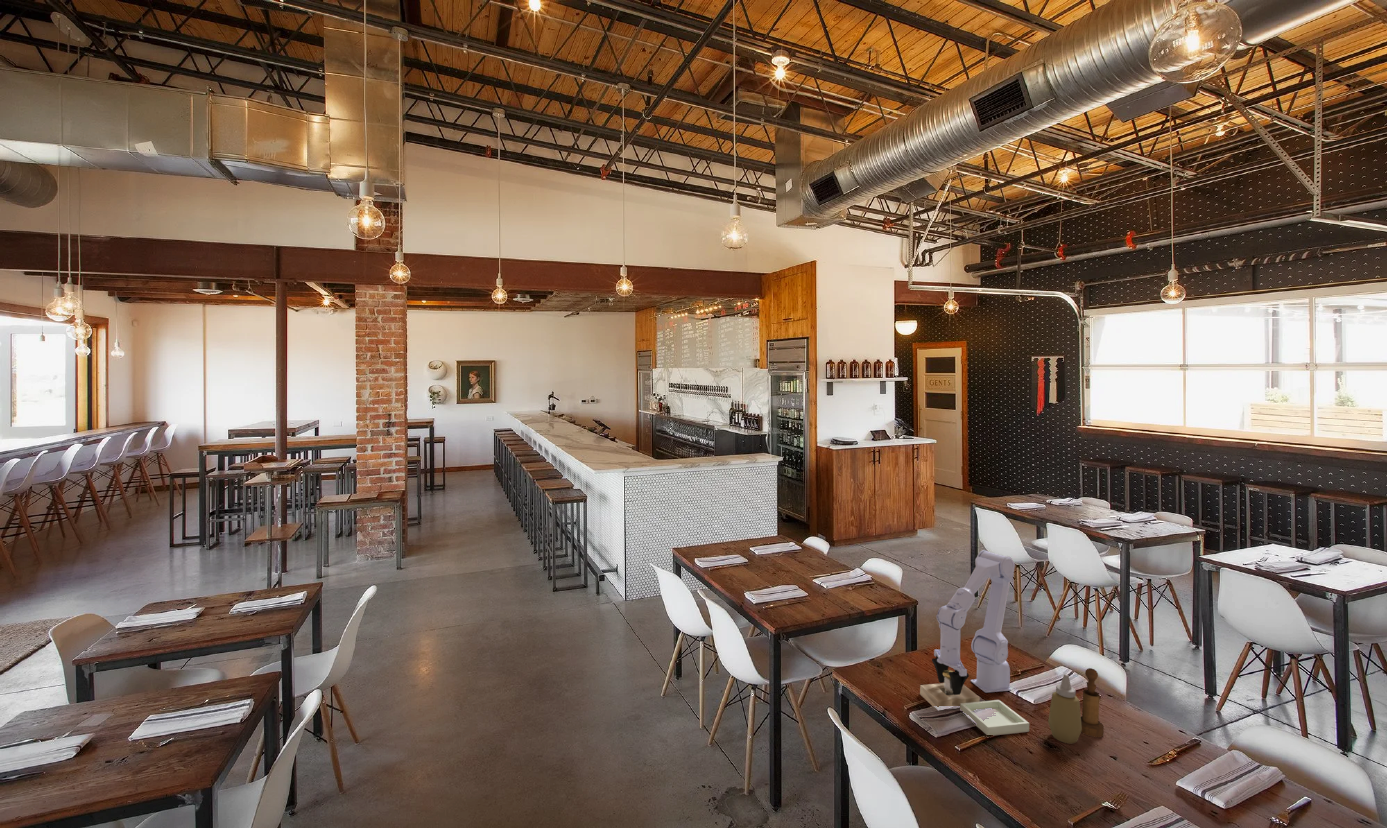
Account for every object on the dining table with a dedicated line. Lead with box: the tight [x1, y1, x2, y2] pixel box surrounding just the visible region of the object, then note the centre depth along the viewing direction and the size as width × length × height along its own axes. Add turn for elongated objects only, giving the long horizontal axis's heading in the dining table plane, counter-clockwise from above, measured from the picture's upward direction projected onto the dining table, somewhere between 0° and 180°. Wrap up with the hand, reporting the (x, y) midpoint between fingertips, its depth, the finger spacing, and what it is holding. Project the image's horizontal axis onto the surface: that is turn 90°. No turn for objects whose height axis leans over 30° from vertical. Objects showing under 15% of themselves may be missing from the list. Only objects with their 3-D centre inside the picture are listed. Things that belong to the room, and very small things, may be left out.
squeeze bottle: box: [1047, 674, 1082, 745], centre depth 169 cm, size 8×8×18 cm
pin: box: [943, 669, 955, 695], centre depth 189 cm, size 4×4×9 cm
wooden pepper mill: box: [1081, 667, 1105, 738], centre depth 172 cm, size 7×6×18 cm
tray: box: [959, 699, 1030, 736], centre depth 177 cm, size 13×13×2 cm
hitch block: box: [919, 682, 981, 707], centre depth 189 cm, size 14×10×3 cm
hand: (949, 688), depth 189 cm, fingers open, 7 cm apart
